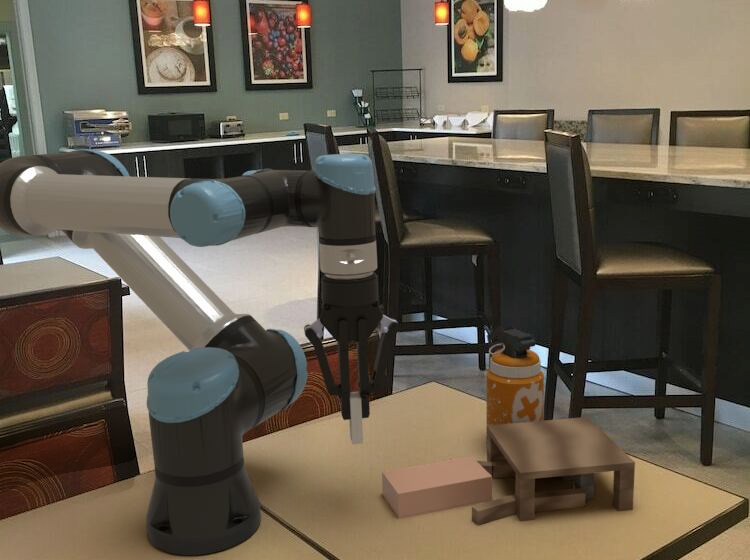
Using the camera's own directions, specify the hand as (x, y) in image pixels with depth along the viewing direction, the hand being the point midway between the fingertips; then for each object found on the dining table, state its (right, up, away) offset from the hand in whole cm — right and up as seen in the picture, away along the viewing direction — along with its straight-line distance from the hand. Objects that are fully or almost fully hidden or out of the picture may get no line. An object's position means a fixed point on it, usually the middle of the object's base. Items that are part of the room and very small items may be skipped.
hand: (356, 439), depth 109 cm
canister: (+25, -5, +20) cm, 32 cm away
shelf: (+26, -8, +5) cm, 28 cm away
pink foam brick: (+11, -9, +4) cm, 15 cm away
